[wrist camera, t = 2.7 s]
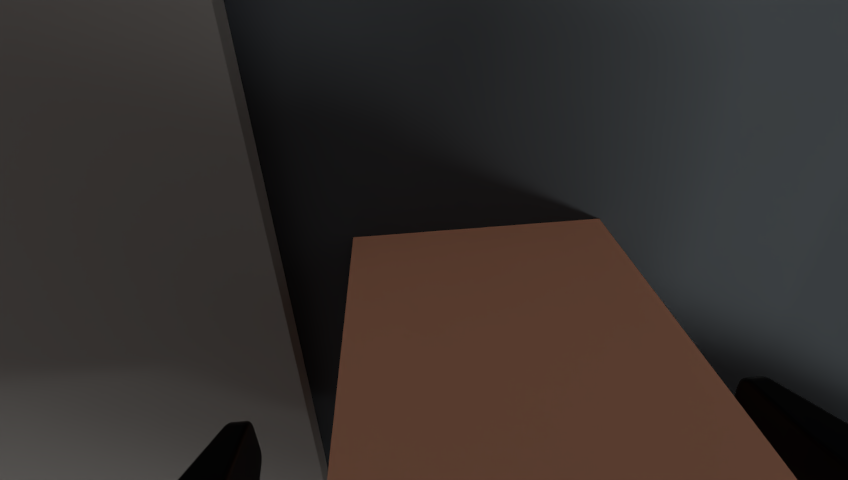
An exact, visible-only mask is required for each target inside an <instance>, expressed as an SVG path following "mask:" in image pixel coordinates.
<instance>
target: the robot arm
mask: <svg viewBox="0 0 848 480" xmlns="http://www.w3.org/2000/svg"><path fill="white" fill-rule="evenodd" d="M734 397H735V398H736V399H737V401H738V402H739V403H740V405H741V406H742V407H743V409H744V410H745V411H746V413H747V414H748V415H749V417H750V418H751V419H752V420H753V422H754V423H755V424H756V426H757V427H758V428H759V430H760V431H761V432H762V434H763V435H764V436H765V438H766V439H767V440H768V442H769V443H770V444H771V445H772V447H773V448H774V449H775V451H776V452H777V453H778V455H779V456H780V457H781V459H782V460H783V461H784V463H785V464H786V465H787V467H788V468H789V469H790V470H791V472H792V473H793V474H794V476H795V477H796V478H797V480H848V424H847V423H845V422H844V421H842V420H840V419H838V418H837V417H835V416H833V415H832V414H830V413H828V412H826V411H825V410H823V409H821V408H820V407H818V406H816V405H814V404H813V403H811V402H809V401H807V400H806V399H804V398H802V397H801V396H799V395H797V394H795V393H794V392H792V391H790V390H789V389H787V388H785V387H783V386H782V385H780V384H778V383H776V382H775V381H773V380H771V379H769V378H767V377H749V378H743V379H742V380H741V381H740V382H739V384H738V387H737V390H736V393H735V396H734ZM261 464H262V454H261V449H260V446H259V442H258V439H257V436H256V433H255V430H254V427H253V424H252V423H251V422H250V421H239V422H230V423H228V424H226V425H225V426H224V427H223V428H222V429H221V430H220V432H219V433H218V434H217V435H216V436H215V437H214V439H213V440H212V441H211V442H210V443H209V444H208V445H207V447H206V448H205V449H204V450H203V451H202V452H201V453H200V455H199V456H198V457H197V458H196V459H195V460H194V462H193V463H192V464H191V465H190V466H189V467H188V468H187V470H186V471H185V472H184V473H183V474H182V475H181V477H180V478H179V479H178V480H260V473H261Z"/></svg>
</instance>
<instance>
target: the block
mask: <svg viewBox="0 0 848 480" xmlns="http://www.w3.org/2000/svg"><path fill="white" fill-rule="evenodd" d="M327 480H797V478H796V477H795V476H794V474H793V473H792V472H791V470H790V469H789V468H788V467H787V465H786V464H785V463H784V461H783V460H782V459H781V457H780V456H779V455H778V453H777V452H776V451H775V449H774V448H773V447H772V445H771V444H770V443H769V442H768V440H767V439H766V438H765V436H764V435H763V434H762V432H761V431H760V430H759V428H758V427H757V426H756V424H755V423H754V422H753V420H752V419H751V418H750V417H749V415H748V414H747V413H746V411H745V410H744V409H743V407H742V406H741V405H740V403H739V402H738V401H737V399H736V398H735V397H734V395H733V394H732V393H731V392H730V390H729V389H728V388H727V386H726V385H725V384H724V382H723V381H722V380H721V378H720V377H719V376H718V374H717V373H716V372H715V370H714V369H713V368H712V367H711V365H710V364H709V363H708V361H707V360H706V359H705V357H704V356H703V355H702V353H701V352H700V351H699V349H698V348H697V347H696V345H695V344H694V343H693V342H692V340H691V339H690V338H689V336H688V335H687V334H686V332H685V331H684V330H683V328H682V327H681V326H680V324H679V323H678V322H677V320H676V319H675V318H674V317H673V315H672V314H671V313H670V311H669V310H668V309H667V307H666V306H665V305H664V303H663V302H662V301H661V299H660V298H659V297H658V295H657V294H656V293H655V292H654V290H653V289H652V288H651V286H650V285H649V284H648V282H647V281H646V280H645V278H644V277H643V276H642V274H641V273H640V272H639V270H638V269H637V268H636V267H635V265H634V264H633V263H632V261H631V260H630V259H629V257H628V256H627V255H626V253H625V252H624V251H623V249H622V248H621V247H620V245H619V244H618V243H617V242H616V240H615V239H614V238H613V236H612V235H611V234H610V232H609V231H608V230H607V228H606V227H605V226H604V224H603V223H602V222H601V220H600V219H588V220H574V221H561V222H548V223H535V224H522V225H509V226H496V227H483V228H469V229H456V230H443V231H430V232H417V233H404V234H391V235H378V236H364V237H353V245H352V254H351V263H350V272H349V282H348V291H347V300H346V309H345V318H344V328H343V337H342V346H341V355H340V364H339V374H338V383H337V392H336V401H335V411H334V420H333V429H332V438H331V447H330V457H329V466H328V475H327Z"/></svg>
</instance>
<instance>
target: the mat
mask: <svg viewBox="0 0 848 480" xmlns="http://www.w3.org/2000/svg"><path fill="white" fill-rule="evenodd" d="M239 421H250V422H251V423H252V424H253V427H254V430H255V433H256V436H257V439H258V442H259V446H260V449H261V454H262V464H261V473H260V480H327V475H328V467H327V462H326V458H325V453H324V449H323V445H322V440H321V436H320V431H319V427H318V422H317V418H316V413H315V409H314V404H313V400H312V395H311V391H310V386H309V382H308V377H307V373H306V368H305V364H304V359H303V355H302V350H301V346H300V341H299V337H298V332H297V328H296V323H295V319H294V314H293V310H292V305H291V301H290V297H289V292H288V288H287V283H286V279H285V274H284V270H283V265H282V261H281V256H280V252H279V247H278V243H277V238H276V234H275V229H274V225H273V220H272V216H271V211H270V207H269V202H268V198H267V193H266V189H265V184H264V180H263V175H262V171H261V166H260V162H259V158H258V153H257V149H256V144H255V140H254V135H253V131H252V126H251V122H250V117H249V113H248V108H247V104H246V99H245V95H244V90H243V86H242V81H241V77H240V72H239V68H238V63H237V59H236V54H235V50H234V45H233V41H232V36H231V32H230V27H229V23H228V18H227V14H226V10H225V5H224V1H223V0H0V480H178V479H179V478H180V477H181V475H182V474H183V473H184V472H185V471H186V470H187V468H188V467H189V466H190V465H191V464H192V463H193V462H194V460H195V459H196V458H197V457H198V456H199V455H200V453H201V452H202V451H203V450H204V449H205V448H206V447H207V445H208V444H209V443H210V442H211V441H212V440H213V439H214V437H215V436H216V435H217V434H218V433H219V432H220V430H221V429H222V428H223V427H224V426H225V425H226V424H228V423H230V422H239Z"/></svg>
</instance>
